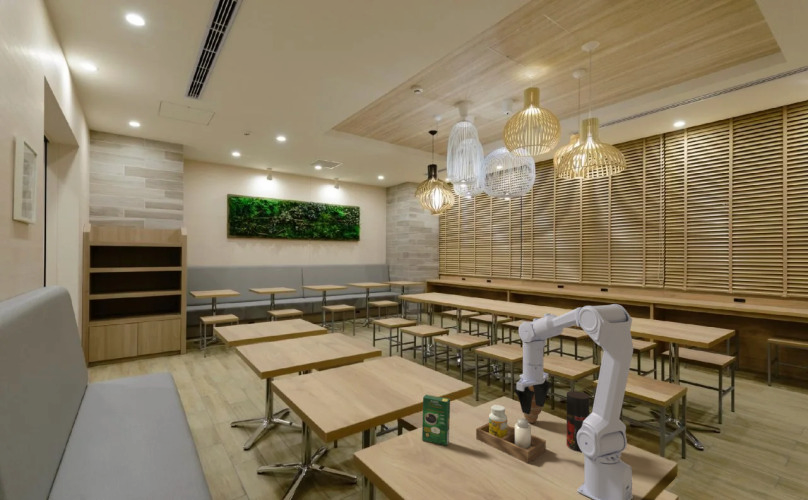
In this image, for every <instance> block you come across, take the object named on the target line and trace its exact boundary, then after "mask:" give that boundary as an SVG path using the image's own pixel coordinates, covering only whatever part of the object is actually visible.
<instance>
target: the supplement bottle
mask: <svg viewBox="0 0 808 500" xmlns="http://www.w3.org/2000/svg"><path fill="white" fill-rule="evenodd" d="M488 423H489V433H490V434H492V435H494V436H497V437H499V438H503V437H504V436H506V435H507V425H508V416H507V415H506V407H504V406H502V405H499V404H494V405H491V407H490V413H489V415H488Z"/></svg>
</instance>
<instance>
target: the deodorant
mask: <svg viewBox="0 0 808 500" xmlns="http://www.w3.org/2000/svg"><path fill="white" fill-rule="evenodd" d="M589 415H590V395H589V394H587V393H585V392H583V391H577V390H576V391H575V390H570V391H568V392H566V446H567V448H569V449H570V450H572V451H575V452H577V453H582V451H581V449H580V448H579V445H578V443H577V432H578V431H579V430H580V429H581V427H582V424H583V421H584V420H585V419H586V418H587V417H588V416H589Z"/></svg>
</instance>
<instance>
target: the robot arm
mask: <svg viewBox="0 0 808 500" xmlns="http://www.w3.org/2000/svg"><path fill="white" fill-rule="evenodd" d="M632 324H633V318H632V317H631V315H630V314H629V313H628V311H627V309H625V308H624V306H622V305H620V304H617V303H613V304H607V305H606V304H605V305H584V306H583V307H576V308H575V309H572V310H569V311H567V312H566V313H563V314H561V315H559V316H558V315H556V314H551V313H545V314H543V317H540V318H539V317H535V318H533V320H532V321H523V322H522V323H520V325H519V326H518V336H519V338H520V339H521V341H522V374H519V378H520V379H519V380H518V381H517V382H516V386H514V392H515V394H516V396H517V398H518V401H519V404H520V408H521V412H522V414H524V413H526V414H530V412H531V403H532V399H533V396H534V394H535V403H536V405H537V406H540V407H541V408H543V407H544V406H545V402H546V398H547V395H548V393H549V390H550V389H551V387H552V382H550V381H549V376H550V375H549V372H544V348H545V346H546V341H547V339H550V338H554V337H557V336H559V335H561V334H562V333H563V331H564V329H566V328H570V327H573V326H577V327H579V328H581V329H582V330H583V331H584V332H585V333H586V335H588V336H589V337H590V339H592V341H593V342H594V343H595V344H597V345H598V346H599V347H601V348H602V350H603V354H602V358H601V364H600V369H599V373H598V379H597V385H596V391H595V397H594V400H593V407H592V410H591V411H592V412H591V413H589V416H588V417H587V418H586V419H585V420H584V421H583V424H582V427H581V429H580V430H579V431H578V432H577V443H578V445H579V448H580V449H581V451H582V452H581V453H582V455H584V456H583V457H584V458H583V459H584V464H583V465H584V466H583V467H584V468H583V470H584V477H583V478H584V483H582V484H581V485H580V486H579V487H578V488H577V490H576V491H577V492H578V493H579V494H582V495H583V496H585V497H588V498H590V499H592V500H631V499H632V500H633V498H634V495H633V469H632V466H631V465H630V464H629V463H626V462H624V461H623V460H621V457H622V452H624V450H626V449H627V445H628V440H627V435H626V432H627V431H626V430H627V425H626V424H625V423H624V422H623V421H622V420H621V419H620V417H621V412H622V407H623V404H624V403H623V402H624V399H625V398H624V397H625V394H626V393H625V392H626V388H627V383H628V382H627V381H628V379H629V374H630V367H631V363H632V358H633V354H634V353H633V352H634V343H633V339H632V334H631V333H632V332H631V329H632ZM532 385H533V388H534V392H533V391H530V389H529V387H530V386H532Z"/></svg>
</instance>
